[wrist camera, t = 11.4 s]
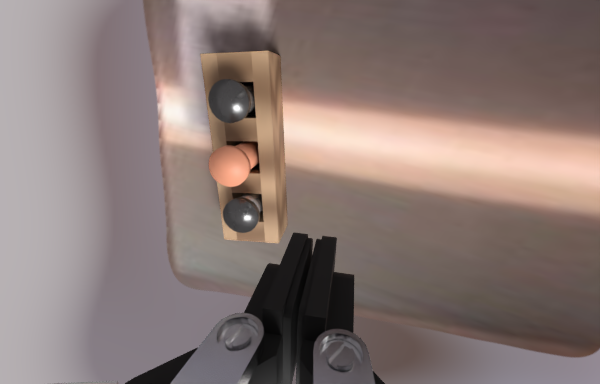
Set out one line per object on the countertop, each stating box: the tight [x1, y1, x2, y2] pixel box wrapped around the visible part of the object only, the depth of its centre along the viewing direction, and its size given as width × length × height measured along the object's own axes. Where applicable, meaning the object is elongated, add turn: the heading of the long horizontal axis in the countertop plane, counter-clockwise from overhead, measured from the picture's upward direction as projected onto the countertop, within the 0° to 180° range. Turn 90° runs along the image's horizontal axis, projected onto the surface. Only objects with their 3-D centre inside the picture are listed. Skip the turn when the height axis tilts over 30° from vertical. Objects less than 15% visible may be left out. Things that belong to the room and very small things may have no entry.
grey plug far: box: [223, 193, 263, 233], centre depth 34 cm, size 4×4×7 cm
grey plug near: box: [208, 79, 256, 123], centre depth 30 cm, size 4×4×7 cm
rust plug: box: [209, 141, 259, 187], centre depth 31 cm, size 4×4×7 cm
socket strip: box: [201, 51, 287, 243], centre depth 34 cm, size 21×7×5 cm, turn 1°
